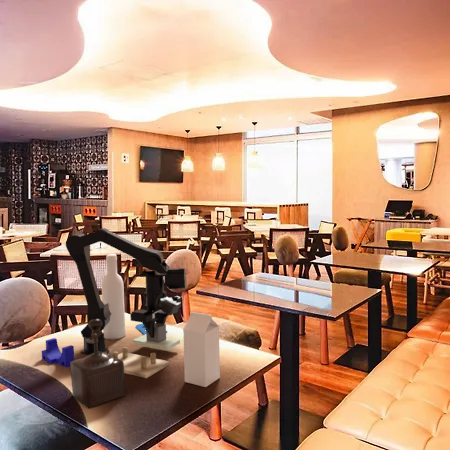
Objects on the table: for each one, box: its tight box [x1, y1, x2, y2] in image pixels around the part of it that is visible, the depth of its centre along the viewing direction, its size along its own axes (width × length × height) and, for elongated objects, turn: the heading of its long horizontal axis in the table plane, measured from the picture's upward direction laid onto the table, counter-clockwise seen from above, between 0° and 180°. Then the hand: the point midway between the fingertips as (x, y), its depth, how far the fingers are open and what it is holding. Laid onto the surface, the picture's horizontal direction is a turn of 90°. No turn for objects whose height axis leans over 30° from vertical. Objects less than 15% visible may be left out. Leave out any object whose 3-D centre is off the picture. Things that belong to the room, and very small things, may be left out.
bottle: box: [101, 253, 126, 340], centre depth 164 cm, size 8×8×30 cm
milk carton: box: [182, 311, 221, 388], centre depth 125 cm, size 7×7×19 cm
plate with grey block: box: [132, 322, 181, 351], centre depth 150 cm, size 7×14×6 cm, turn 61°
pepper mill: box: [70, 319, 126, 409], centre depth 119 cm, size 16×11×18 cm
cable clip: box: [41, 337, 75, 368], centre depth 141 cm, size 12×4×6 cm, turn 48°
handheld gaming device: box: [135, 323, 168, 335], centre depth 173 cm, size 8×1×15 cm
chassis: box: [111, 346, 170, 379], centre depth 137 cm, size 18×11×4 cm, turn 61°
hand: (156, 335), depth 150 cm, fingers closed on plate with grey block, 4 cm apart
